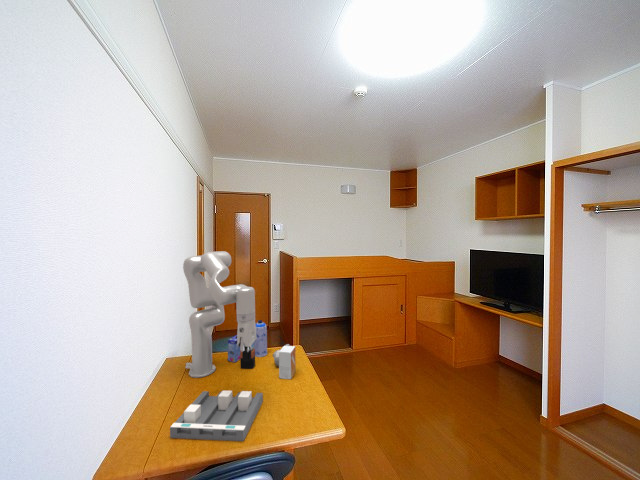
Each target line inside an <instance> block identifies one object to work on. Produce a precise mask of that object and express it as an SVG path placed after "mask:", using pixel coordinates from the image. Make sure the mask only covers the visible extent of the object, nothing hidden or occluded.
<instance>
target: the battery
mask: <svg viewBox="0 0 640 480" xmlns="http://www.w3.org/2000/svg"><path fill="white" fill-rule="evenodd" d="M239 363H240V369H241V370H242V369H243V370H246V369H247V370H253V369H254V368H255V366H256V357H255V349H254V347H251V360H250V361H243V358H242V351H241V352H240V362H239Z"/></svg>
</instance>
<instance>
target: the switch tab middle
mask: <svg viewBox="0 0 640 480" xmlns="http://www.w3.org/2000/svg"><path fill="white" fill-rule="evenodd" d="M220 392H221V393H220ZM220 392H219V393H220V395H219V396H218V410H227V409H228V407H229V406H230V404H231V403H232V397H233V390H223V389H222V391H220Z"/></svg>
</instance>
